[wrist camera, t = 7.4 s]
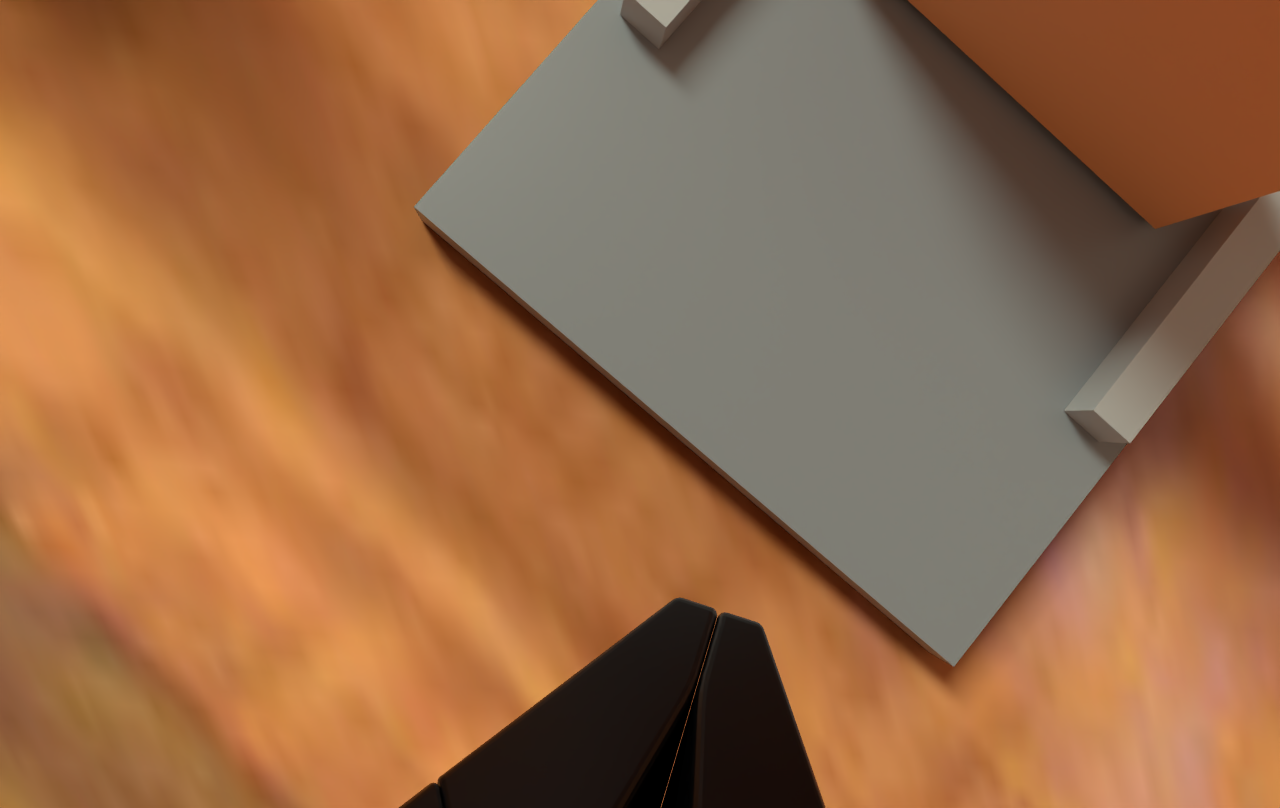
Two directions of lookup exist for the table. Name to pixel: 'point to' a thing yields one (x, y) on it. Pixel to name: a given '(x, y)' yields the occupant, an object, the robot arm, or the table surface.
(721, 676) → the robot arm
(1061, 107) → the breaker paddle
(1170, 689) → the table surface
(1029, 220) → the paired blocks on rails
